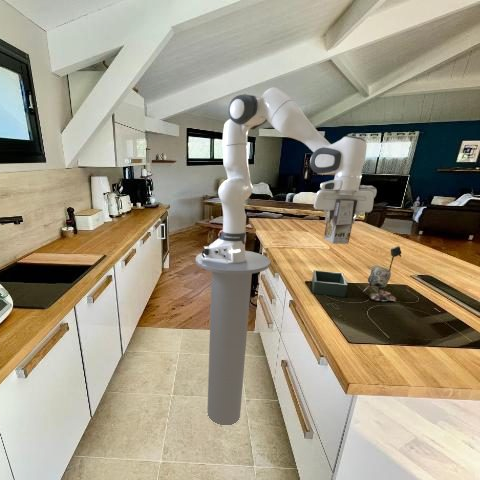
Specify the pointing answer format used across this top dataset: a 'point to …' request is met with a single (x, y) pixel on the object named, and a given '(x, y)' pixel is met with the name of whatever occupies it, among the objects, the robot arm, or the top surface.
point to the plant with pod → (382, 279)
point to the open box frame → (329, 283)
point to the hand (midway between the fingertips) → (339, 222)
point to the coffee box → (340, 221)
